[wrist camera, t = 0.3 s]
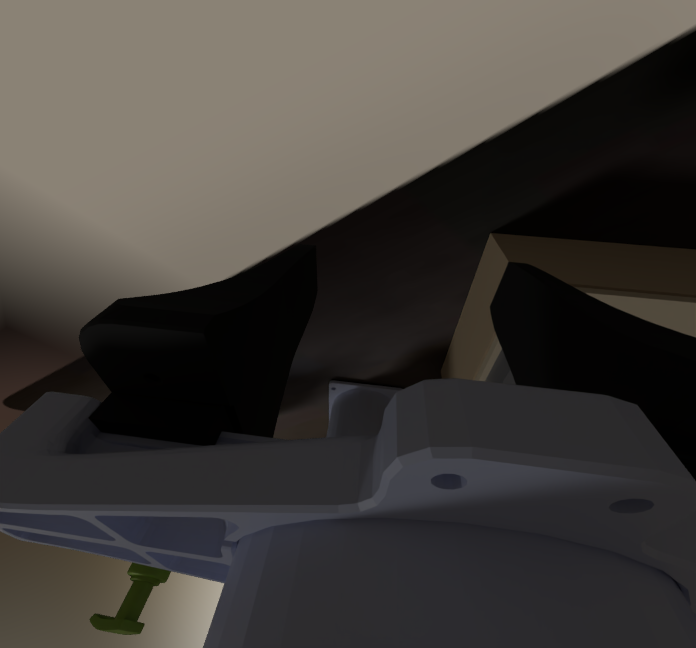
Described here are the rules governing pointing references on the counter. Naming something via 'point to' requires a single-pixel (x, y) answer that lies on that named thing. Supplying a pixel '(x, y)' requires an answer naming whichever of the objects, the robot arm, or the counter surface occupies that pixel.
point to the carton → (572, 268)
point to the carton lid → (654, 308)
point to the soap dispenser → (132, 601)
